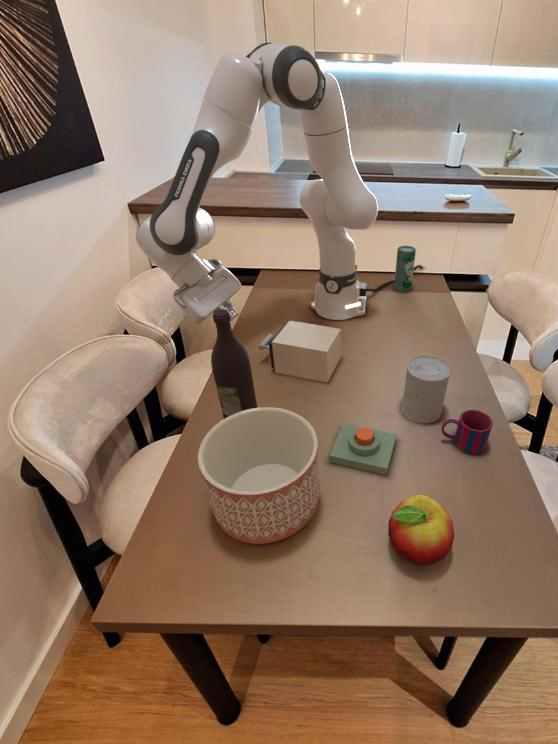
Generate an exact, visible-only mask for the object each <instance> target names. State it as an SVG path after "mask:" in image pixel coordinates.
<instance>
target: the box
mask: <svg viewBox="0 0 558 744" xmlns="http://www.w3.org/2000/svg"><path fill="white" fill-rule="evenodd" d="M363 427H364V426H362V425H356V424H351V423H347V422H343V423H342V424H341V427H340V428H339V429H340V430H339V431H338V434H337V436H336V439H335V441H334V444H333V446H332V448H331V450H330V452H329V455H328V456H329V457H328V459H329V460H328V462H329V463H330V464H335V465H339V466H343V467H348V468H351V469H357V470H360V471H364V472H369V473H374V474H377V475H382V476H388V472H389V468H390V464H391V461H392V456H393V453H394V450H395V445H396V442H397V433H394V432H389V431H385V430H379V429H376V428H372V427H366V426H365V427H366V428H369V429H371V430H372V431H373V442H372V443H371V444H370V445H367V446H362V445H359V444H358V443H357V442H356V431H357V430H358V429H359V428H363Z"/></svg>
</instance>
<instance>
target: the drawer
mask: <svg viewBox="0 0 558 744" xmlns="http://www.w3.org/2000/svg"><path fill="white" fill-rule="evenodd" d="M286 324H287V323H284V324H283V325H282V326H281V328H280V329H279V330H278V332H276V334H275V335H273V333H269V334H268V335H267V336H266V337H265V338H264V339H263V340H262V341H261V342H260V344H259V345H258V349H259V350H260V351H263V350H269V356H270V366H271V369H275V366H274V357H273V348H272V341H273V340H274V339H275V338H276V336H277V335H278V334H279V333H280V332H281V330H282V329H283V328H284V327H285V326H286Z"/></svg>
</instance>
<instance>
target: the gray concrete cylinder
mask: <svg viewBox="0 0 558 744" xmlns="http://www.w3.org/2000/svg"><path fill="white" fill-rule="evenodd" d="M451 371H452V370H451V367H450V365H449V364H448V363H447V362H446V361H444V360H443V359H441V358H439V357H436V356H431V355H418V356H415V357H412V358H411V359H410V360H409V361H408V362H407V365H406V373H405V374H406V375H405V382H404V388H403V396H402V403H401V412H402V414H403V415H404V416H405V417H406V419H409V420H410V421H412V422H414V423H418V424H430V423H433V422H436V421H438V420H440V418H441V416H442V411H443V407H444V401H445V397H446V393H447V389H448V385H449V379H450V375H451Z"/></svg>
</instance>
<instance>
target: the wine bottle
mask: <svg viewBox="0 0 558 744" xmlns="http://www.w3.org/2000/svg"><path fill="white" fill-rule="evenodd" d="M212 319H213V323H214V325H215V328H216V339H215V342H214V345H213V348H212V351H211V355H210V364H211V365H210V366H211V370H212V374H213V379H214V383H215V388H216V392H217V396H218V401H219V404H220V409H221V414H222V418H223V420H224V419H225V418H227V417H229V416H231V415H233V414H235V413H238V412H241V411H244V410H248V409H253V408H258V402H257V396H256V391H255V384H254V383H255V382H254V378H253V372H252V366H251V365H252V364H251V361H250V357H249V354H248V352H247V350H246V348H245V347H244V345H243V343H242V342H241V341H239V340H238V339H237V337H236V336H235V334H234V332H233V330H232V325H231V321H230V320H231V318H230V313H229V312H228V309H226V308H224V309H219V310H216V311H214V312H213V313H212Z"/></svg>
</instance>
